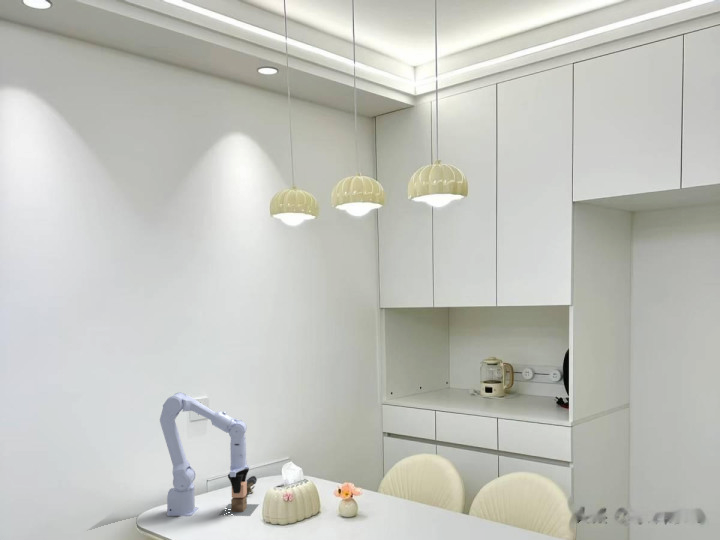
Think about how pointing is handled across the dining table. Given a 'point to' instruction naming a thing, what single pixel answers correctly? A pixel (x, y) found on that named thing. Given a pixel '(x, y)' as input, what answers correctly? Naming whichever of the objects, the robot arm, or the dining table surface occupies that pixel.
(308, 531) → the dining table surface
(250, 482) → the eagle figurine
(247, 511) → the mat
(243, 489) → the terracotta block
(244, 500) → the walnut block
